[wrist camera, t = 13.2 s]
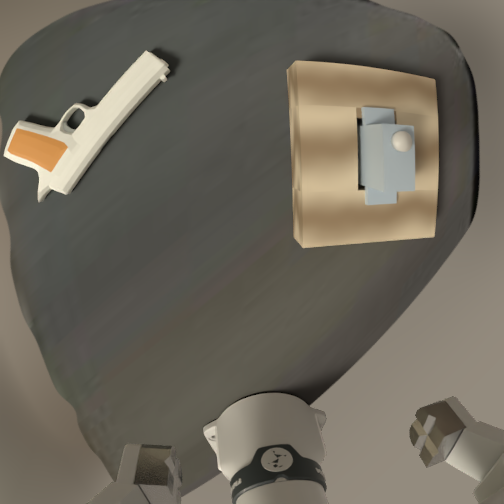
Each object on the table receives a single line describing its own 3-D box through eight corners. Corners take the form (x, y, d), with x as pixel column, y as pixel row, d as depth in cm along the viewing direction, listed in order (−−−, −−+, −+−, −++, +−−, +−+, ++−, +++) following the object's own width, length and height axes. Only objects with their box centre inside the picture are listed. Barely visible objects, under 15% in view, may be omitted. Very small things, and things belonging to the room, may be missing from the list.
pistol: (107, 19, 25) (176, 72, 28) (4, 157, 28) (61, 215, 31) (100, 12, 23) (173, 67, 26) (-7, 158, 26) (52, 219, 29)
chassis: (416, 228, 36) (434, 236, 32) (293, 236, 35) (302, 247, 31) (415, 83, 30) (435, 79, 26) (286, 70, 29) (295, 60, 25)
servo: (376, 195, 34) (419, 212, 26) (349, 197, 34) (388, 214, 26) (373, 112, 31) (417, 105, 23) (345, 111, 31) (385, 102, 23)
